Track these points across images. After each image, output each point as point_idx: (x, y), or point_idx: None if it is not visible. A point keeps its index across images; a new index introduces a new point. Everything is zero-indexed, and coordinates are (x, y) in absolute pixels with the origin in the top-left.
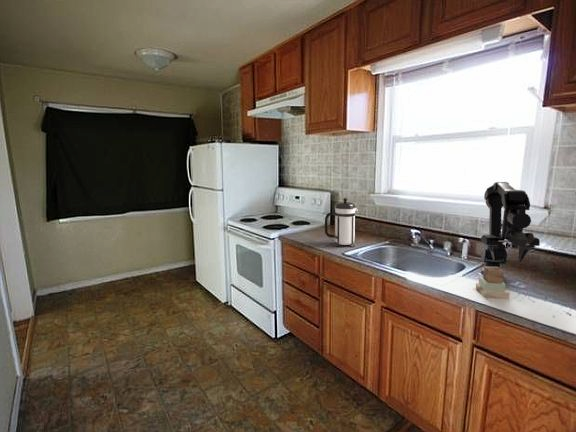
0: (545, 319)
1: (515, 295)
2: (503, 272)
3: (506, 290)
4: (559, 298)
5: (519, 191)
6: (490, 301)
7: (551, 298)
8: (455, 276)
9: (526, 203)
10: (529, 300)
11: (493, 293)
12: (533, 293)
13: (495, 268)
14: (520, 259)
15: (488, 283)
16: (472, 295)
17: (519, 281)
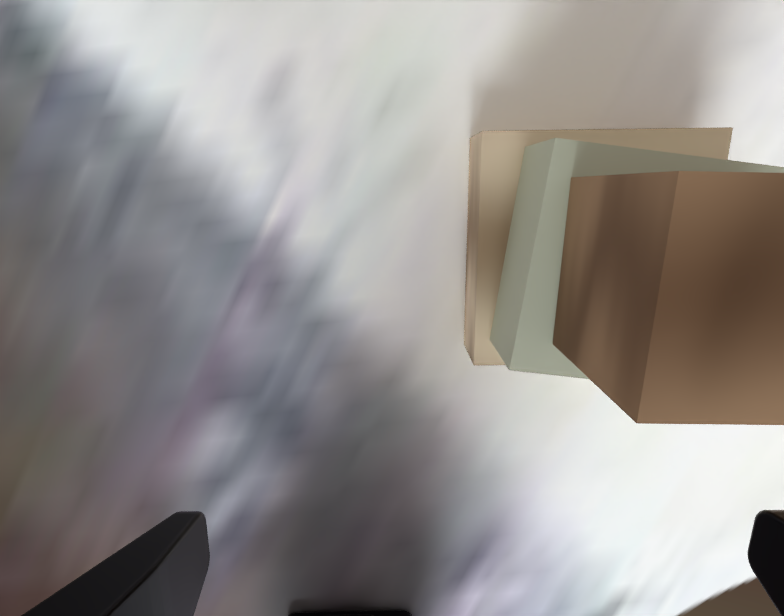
0: None
1: (370, 224)
2: (662, 174)
3: (484, 190)
4: (2, 196)
5: None
6: (687, 43)
7: (74, 187)
8: (679, 595)
9: None
10: (297, 114)
11: (639, 131)
12: (185, 289)
13: (739, 324)
14: (179, 546)
15: (753, 163)
16: None
17: None
